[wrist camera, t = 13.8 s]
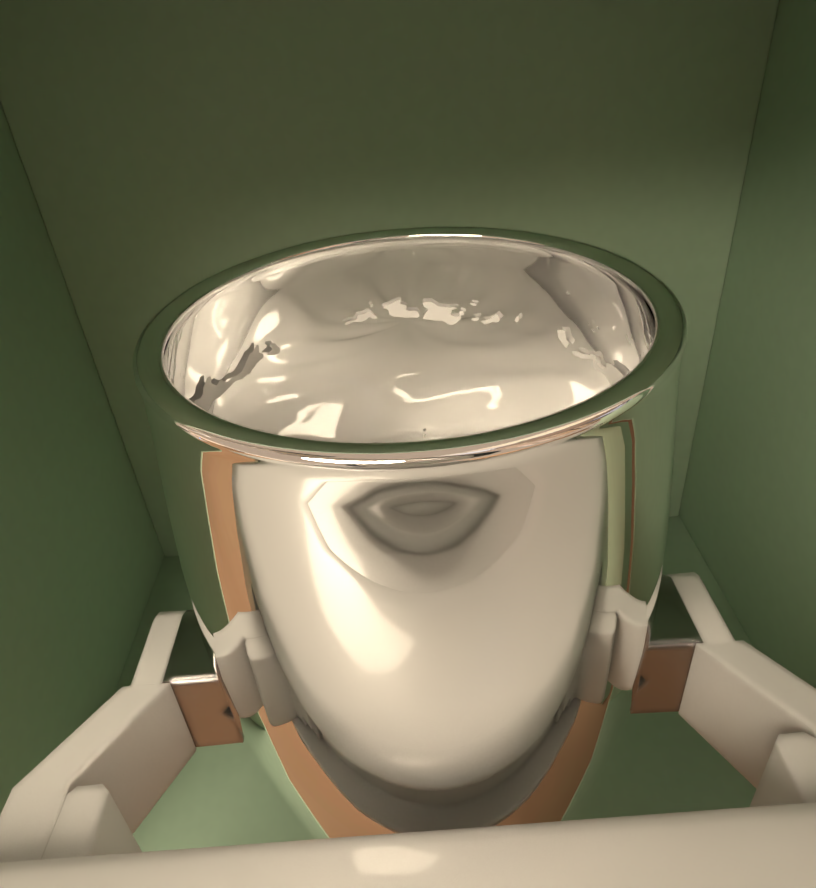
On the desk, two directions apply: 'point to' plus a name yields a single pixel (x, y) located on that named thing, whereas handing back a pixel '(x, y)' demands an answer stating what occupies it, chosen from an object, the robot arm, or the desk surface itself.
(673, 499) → the green cabinet
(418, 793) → the beer glass
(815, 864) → the robot arm
